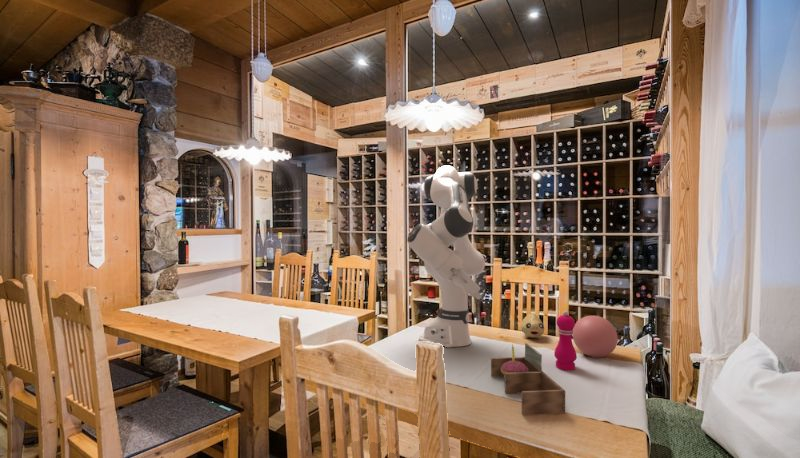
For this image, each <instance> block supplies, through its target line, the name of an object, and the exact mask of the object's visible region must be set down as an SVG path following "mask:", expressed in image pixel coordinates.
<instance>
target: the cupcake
mask: <svg viewBox="0 0 800 458" xmlns="http://www.w3.org/2000/svg"><path fill="white" fill-rule="evenodd" d="M511 356H512V361H507V362H505V363H504V364H503V365H502V366H501V372H502V373H503V375H504V376H503V378H505V373H515V372H529V371H528V367H526V366H525V364H523V363H521V362H518V361H515V360H514V357H515V347H514V345H513V344H512V345H511Z"/></svg>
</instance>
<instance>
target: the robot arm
mask: <svg viewBox="0 0 800 458" xmlns="http://www.w3.org/2000/svg"><path fill="white" fill-rule="evenodd" d="M477 190H478V180H477V178H476V176H475V174H474V173H472V172H466V171H465V172H459V171H458V170H457V169H456V168H455V167H453V166H452V165H442V166H441V167H440V166H439V168H438V169H437V170H436V172H435V173H434V174H432V175H430V176H427V177H426V178H425V179H424V183H423V192H424V194H425V197H426V198H427V199H428V200H430V201H432V203H433V204H434V205H436V206H438V207H439V208H440V216H438V217H437V218H436V219H435V220H433V221H432V222H430V223H428V224H424V223H419V224H417V225H416V226H415V227H413V229H412V230H411V231H410V233H409V234H408V236H407V243H408V245H409V247H410V248H411V250H412V251H413V252H414V253H415V254H416V256H417V257H418V258H420V259H421V260H422V262H423V263H424V269H425V271H426V273H427V274H429V276H431V277H432V278H433V280H435V281H436V282H437V285H438V287H439V290H440V296H441V297H440V298H441V306H440V308H438V309H437V310H436V314H437V316H436V317H434V318H433V319H432V320H431V321H429V322H428V323H426V325H425V326H424V329H423V330H424V332H423V333H422V334H421V335H419V336H418V341H420V342H422V341H430V342H434V343H440V344H442V345H443V346H445V347H444V348H446V347H447V348H453V347H455V348H456V347H465V346H468V345H471V344H472V339H471V334H470V328H469V320H470V313H469V312H470V311H469V308H468V305H469V304H468V303H469V302H468V300H469V299H468V296H471V298H472V297H474V298H475V299H477V300H478V301H479V300H480V299H481V298H482V297H483V295H482V294H481V293H480V291H481V286H479V284H478V283H477V282H475V281H474V279H473V278H472V277H473V276H478V275H481V274H482V273H483V272H484V270H485V267H486V261H485V257H484V256H483V254H482V253H481V252H480V251H478V250H477V248H475V247H474V246H473V244H472V243H471V241H470V238H469V234H470V233H471V232H473V228H474V217H473V216H472V215H473V214H472V213H471V209H470V207H469V206H470V205H469V200H470V199H472V198H473V197H474V196H475V195H476V193H477ZM451 245H453V246H454V249H455V250H452V249H451V248H449V247H450V246H451ZM447 348H446V349H447Z"/></svg>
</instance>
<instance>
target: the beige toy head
mask: <svg viewBox="0 0 800 458" xmlns="http://www.w3.org/2000/svg"><path fill="white" fill-rule="evenodd" d="M520 328H521V331H522V333H523V334H524V337H525V338H526V339H528V338H533V339H534V338H535V339H537V340H540V339H541V337H542V335H543V333H544V332H545V326H544V323H543V321H542V320H541V319H540V317H539V315H537V314H536V313H528V314H527V315H526V316H525V317H524V318H523V319H522V321H521V324H520Z"/></svg>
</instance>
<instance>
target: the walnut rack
mask: <svg viewBox="0 0 800 458" xmlns="http://www.w3.org/2000/svg"><path fill="white" fill-rule="evenodd" d="M542 358H543V357H542V354H541V353H540V352H539V351H538V350H536V349H535V348H534V347H532V346H531V345H530V344H529V343H525V344H524V356H518V357H517V356H514V360H515V361H518V362H521V363H523V364H525V366H526V367H528V371H529V372H515V373H505V377H504V375H503V373H502V372H501V366H502V365H503V364H504V363H505V362H507V361H512V357H491V358H490V376H491V377H492V378H493V377H494V378H498V377H500V378H501V377H504V394H507V395H509V394H512V395H513V394H521V414H522V416H525V415H527V416H528V415H550V414H565V413H566V390H565V389H564V388H563V387H562V386H560V385H559V384H558V383H557V382H556V381H555V380H554V379H552V377H550V376H548V374H546V373H545V372H544V371H542V370H543V369H542V367H543V366H542V360H543V359H542Z"/></svg>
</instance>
